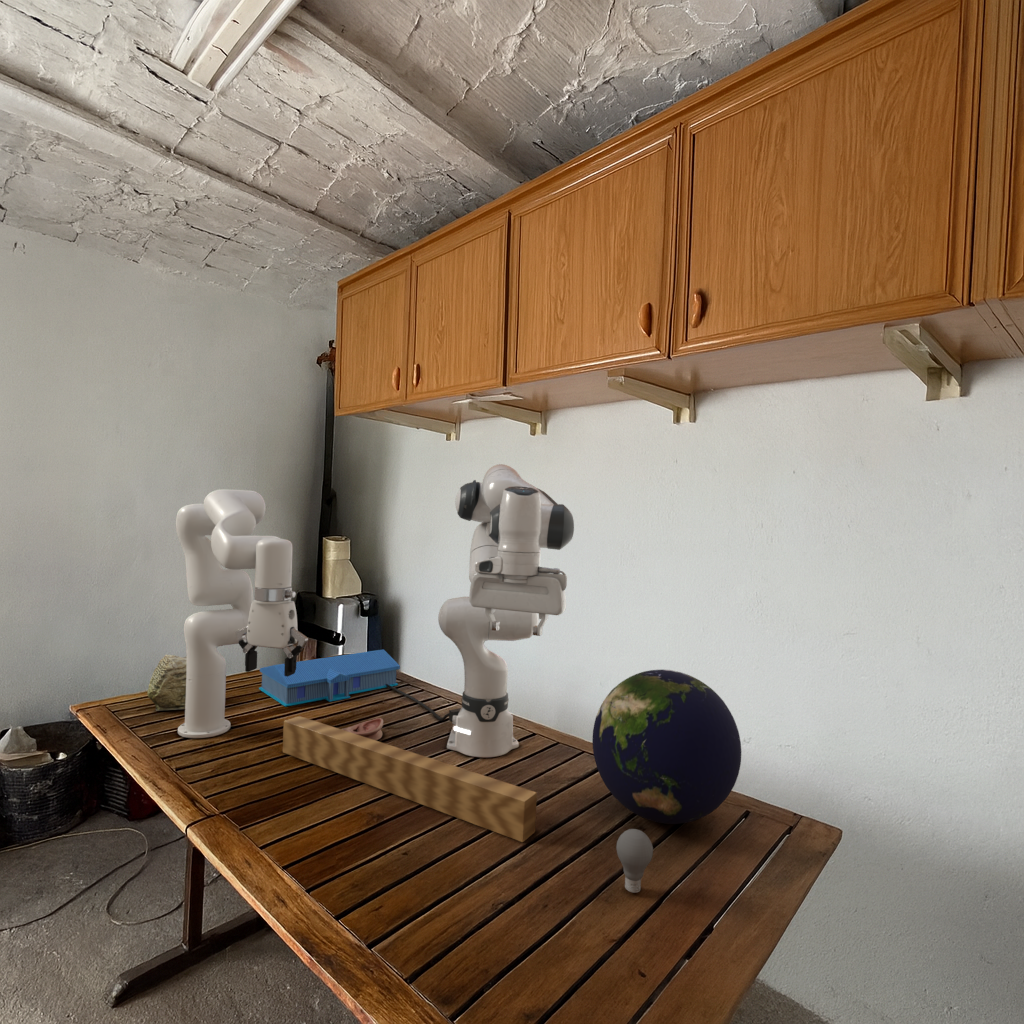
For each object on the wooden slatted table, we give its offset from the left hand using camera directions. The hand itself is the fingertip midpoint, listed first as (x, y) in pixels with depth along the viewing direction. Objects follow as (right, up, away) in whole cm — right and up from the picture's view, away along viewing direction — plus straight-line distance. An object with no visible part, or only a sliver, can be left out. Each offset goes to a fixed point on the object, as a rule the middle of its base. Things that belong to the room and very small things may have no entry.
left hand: (270, 672), depth 139 cm
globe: (+84, -28, -7) cm, 89 cm away
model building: (-6, -23, +69) cm, 72 cm away
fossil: (-43, -22, +46) cm, 66 cm away
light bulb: (+73, -28, -34) cm, 85 cm away
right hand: (+54, +10, -9) cm, 56 cm away
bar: (+27, -25, 0) cm, 37 cm away
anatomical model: (+12, -24, +28) cm, 39 cm away
